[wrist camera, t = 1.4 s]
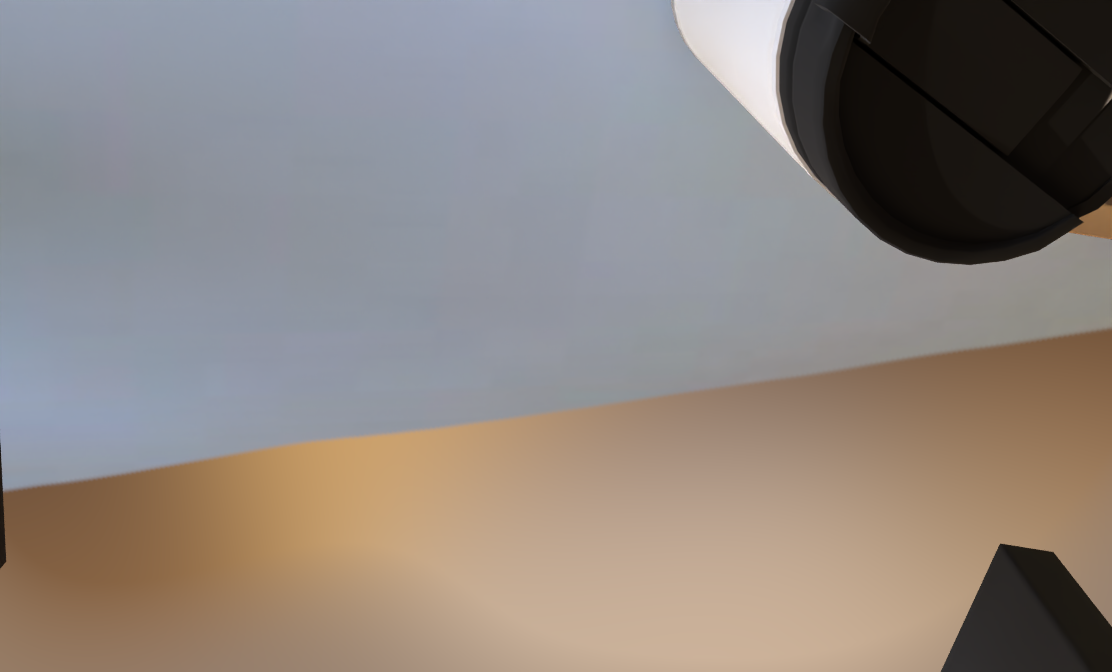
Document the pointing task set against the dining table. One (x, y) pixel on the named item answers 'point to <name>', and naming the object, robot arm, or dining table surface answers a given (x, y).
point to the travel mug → (929, 110)
